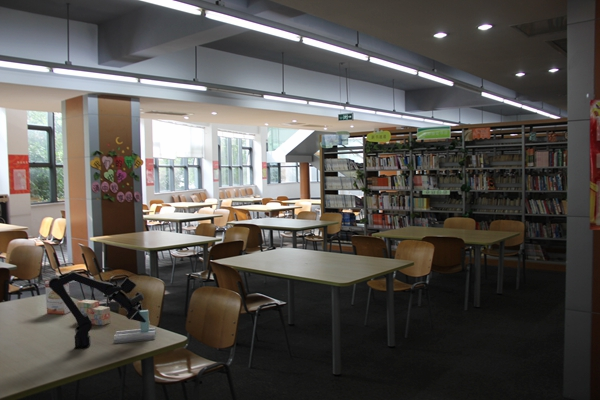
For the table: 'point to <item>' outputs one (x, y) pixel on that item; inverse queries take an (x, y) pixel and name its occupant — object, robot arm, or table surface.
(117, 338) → the floor track
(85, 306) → the stack of blocks
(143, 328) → the pale teal block
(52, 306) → the cracker box
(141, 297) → the robot arm
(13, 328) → the table surface
